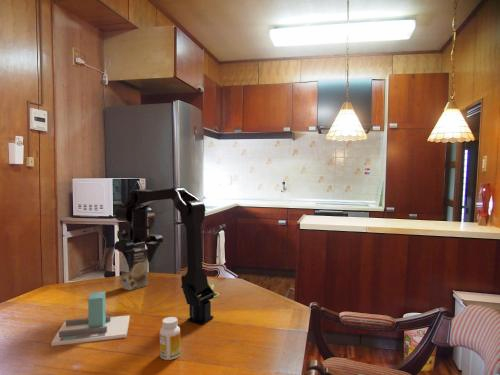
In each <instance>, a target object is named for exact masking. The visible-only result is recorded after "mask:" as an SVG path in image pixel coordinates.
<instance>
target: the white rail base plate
mask: <svg viewBox="0 0 500 375" xmlns="http://www.w3.org/2000/svg"><path fill="white" fill-rule="evenodd" d="M130 319H131V315H118V316H111V315H106V323H105V326H102V327H93V328H89V321H88V317H86V318H85V317H83V318H76V319H67V320H65V321H63V323H62V324H61V327H60V328H59V330H58V331H57V333H56V334H55V336H54V338H53V339H52V341H51V347H53V346H54V347H55V346H62V345H70V344H71V345H72V344H73V345H74V344H80V343H81V344H82V343H89V342H98V341H105V340H106V341H107V340H116V339H123V338H127V337H128V336H127V335H128V329H129V325H130Z"/></svg>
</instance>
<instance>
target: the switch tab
mask: <svg viewBox="0 0 500 375" xmlns="http://www.w3.org/2000/svg"><path fill="white" fill-rule="evenodd" d="M87 305H88V306H87V307H88V310H87V311H88V316H87V318H88V321H89V328H93V327H102V326H105V323H106V316H107V315H106V314H107V312H106V311H107V310H106V307H107V306H106V305H107V304H106V291H105V290H103V291H94V292H93V291H92V292H90V295H89V297H88V298H87Z"/></svg>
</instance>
